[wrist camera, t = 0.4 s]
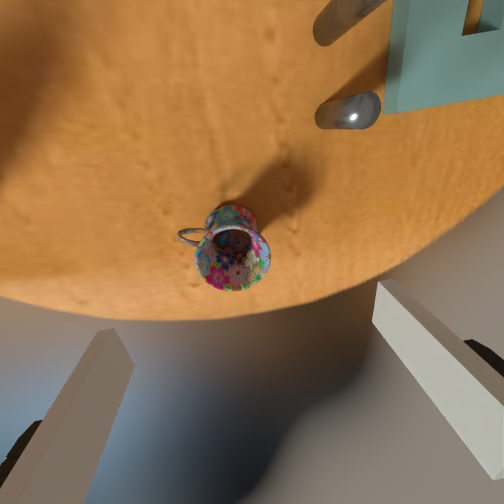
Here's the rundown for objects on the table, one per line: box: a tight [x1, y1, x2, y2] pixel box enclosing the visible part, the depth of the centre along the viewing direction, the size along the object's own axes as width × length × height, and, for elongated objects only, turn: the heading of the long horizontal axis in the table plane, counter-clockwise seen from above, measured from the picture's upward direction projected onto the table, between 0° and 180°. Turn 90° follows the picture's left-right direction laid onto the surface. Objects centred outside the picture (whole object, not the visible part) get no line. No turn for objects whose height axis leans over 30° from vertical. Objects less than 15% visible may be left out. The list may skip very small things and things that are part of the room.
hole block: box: [383, 0, 504, 114], centre depth 27 cm, size 18×18×3 cm
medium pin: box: [315, 91, 381, 129], centre depth 27 cm, size 3×3×10 cm
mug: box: [177, 205, 271, 291], centre depth 33 cm, size 12×9×11 cm
